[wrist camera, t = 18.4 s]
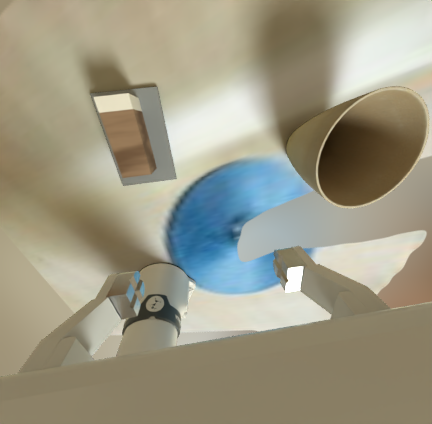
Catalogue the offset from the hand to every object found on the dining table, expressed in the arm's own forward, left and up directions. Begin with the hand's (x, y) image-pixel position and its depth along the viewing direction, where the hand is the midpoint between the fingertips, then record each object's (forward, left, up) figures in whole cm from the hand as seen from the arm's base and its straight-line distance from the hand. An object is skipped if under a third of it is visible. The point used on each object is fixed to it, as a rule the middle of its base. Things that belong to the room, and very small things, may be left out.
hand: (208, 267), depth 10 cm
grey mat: (+3, +12, -29) cm, 32 cm away
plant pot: (+8, -21, -29) cm, 37 cm away
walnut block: (-2, +11, -26) cm, 28 cm away
